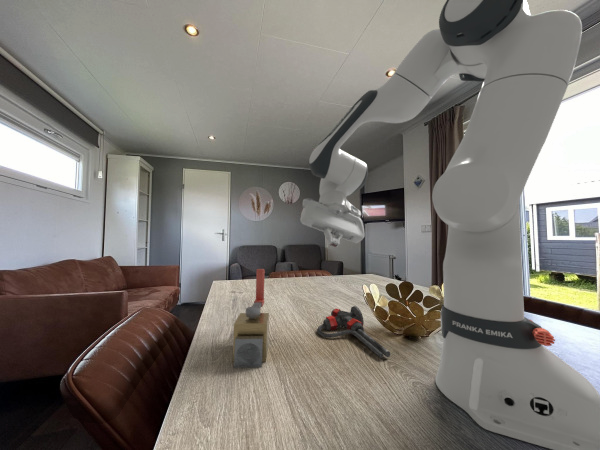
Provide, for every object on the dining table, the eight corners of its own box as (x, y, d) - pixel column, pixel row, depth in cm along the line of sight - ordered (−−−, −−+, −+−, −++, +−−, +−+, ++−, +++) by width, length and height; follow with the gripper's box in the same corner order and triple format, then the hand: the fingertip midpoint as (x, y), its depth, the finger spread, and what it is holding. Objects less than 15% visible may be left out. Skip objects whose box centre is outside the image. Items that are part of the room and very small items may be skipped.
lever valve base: (265, 367, 46) (266, 324, 47) (230, 367, 46) (232, 325, 46) (268, 342, 57) (269, 308, 58) (240, 343, 57) (241, 308, 57)
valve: (308, 329, 72) (349, 318, 77) (348, 382, 48) (406, 361, 52) (305, 309, 72) (347, 299, 77) (344, 352, 47) (403, 334, 52)
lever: (258, 317, 51) (260, 275, 51) (244, 317, 51) (245, 275, 51) (266, 303, 62) (267, 269, 63) (254, 303, 62) (255, 268, 63)
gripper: (308, 189, 65) (305, 227, 57) (365, 213, 72) (370, 250, 63) (298, 202, 70) (294, 239, 62) (353, 224, 76) (356, 260, 68)
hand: (333, 245), depth 62 cm, fingers closed
